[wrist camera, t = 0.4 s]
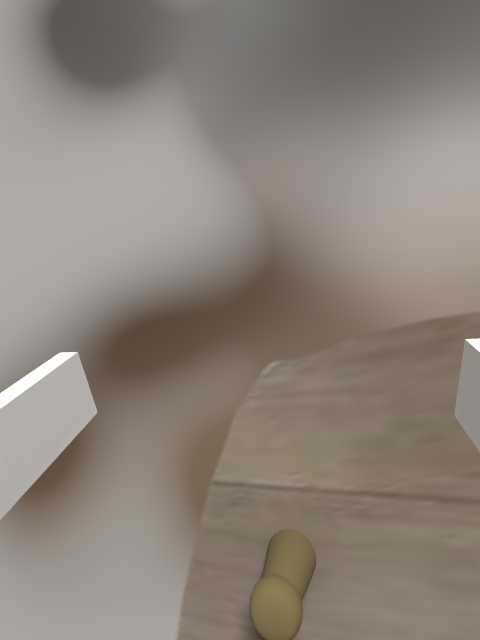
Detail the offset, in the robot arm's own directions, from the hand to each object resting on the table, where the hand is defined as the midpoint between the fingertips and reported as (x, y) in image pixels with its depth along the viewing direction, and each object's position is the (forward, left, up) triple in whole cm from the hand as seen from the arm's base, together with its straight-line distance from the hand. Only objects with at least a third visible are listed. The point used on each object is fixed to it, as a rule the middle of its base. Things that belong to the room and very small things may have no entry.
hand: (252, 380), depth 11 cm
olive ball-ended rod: (-15, +18, -33) cm, 41 cm away
